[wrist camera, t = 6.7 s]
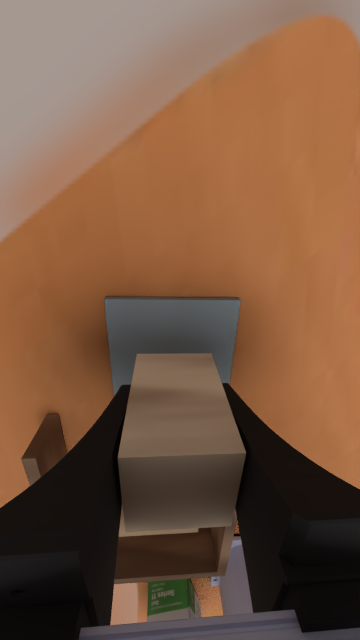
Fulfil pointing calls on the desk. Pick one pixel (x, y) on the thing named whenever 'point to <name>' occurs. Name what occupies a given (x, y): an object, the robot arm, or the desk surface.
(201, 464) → the maple block
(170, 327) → the slate mat
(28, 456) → the walnut open-sided frame
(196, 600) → the ink box
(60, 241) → the desk surface
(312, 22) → the desk surface
